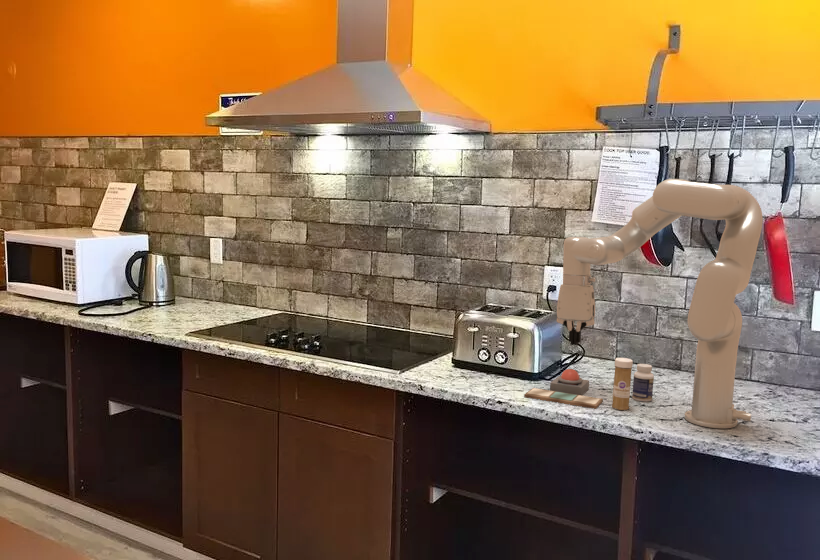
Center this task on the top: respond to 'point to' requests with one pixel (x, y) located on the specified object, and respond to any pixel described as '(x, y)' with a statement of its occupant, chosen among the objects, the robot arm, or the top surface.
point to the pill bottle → (643, 383)
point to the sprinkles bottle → (622, 383)
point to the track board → (564, 398)
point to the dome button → (570, 377)
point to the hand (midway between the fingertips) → (574, 344)
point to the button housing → (569, 387)
